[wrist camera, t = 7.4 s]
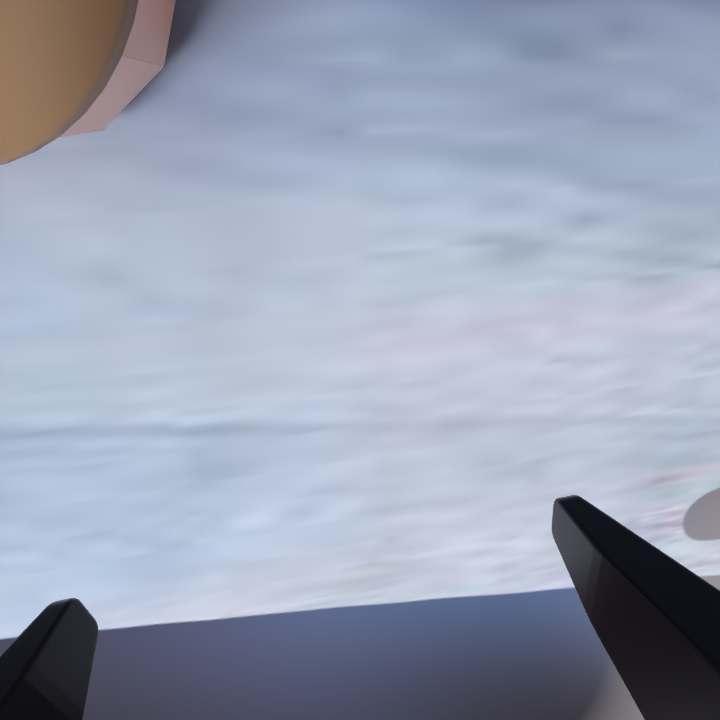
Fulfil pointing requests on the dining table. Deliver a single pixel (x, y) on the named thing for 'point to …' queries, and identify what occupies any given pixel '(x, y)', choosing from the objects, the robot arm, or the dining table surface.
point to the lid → (55, 65)
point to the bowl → (132, 65)
